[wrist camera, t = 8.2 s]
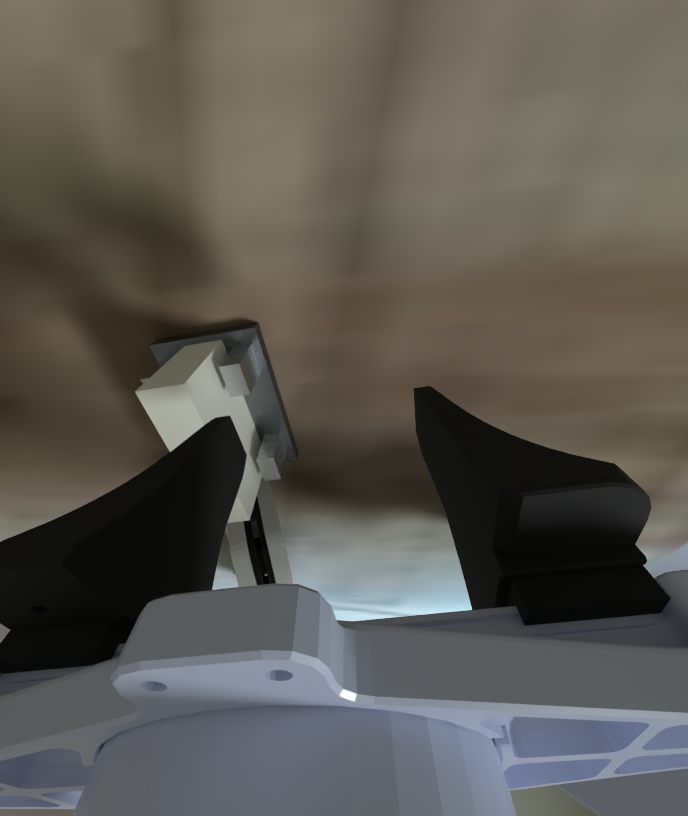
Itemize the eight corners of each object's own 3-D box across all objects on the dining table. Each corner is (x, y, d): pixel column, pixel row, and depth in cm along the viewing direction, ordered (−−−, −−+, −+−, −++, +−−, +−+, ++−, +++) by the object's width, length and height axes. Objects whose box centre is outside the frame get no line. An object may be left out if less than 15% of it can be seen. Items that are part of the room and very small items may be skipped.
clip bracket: (258, 322, 21) (242, 345, 18) (298, 452, 27) (292, 487, 23) (156, 339, 21) (122, 365, 18) (217, 463, 27) (199, 499, 24)
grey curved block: (207, 468, 28) (209, 573, 20) (262, 454, 29) (286, 547, 21) (244, 579, 37) (257, 682, 29) (286, 564, 38) (308, 659, 30)
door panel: (222, 339, 21) (184, 383, 15) (267, 458, 26) (249, 520, 21) (177, 347, 21) (124, 393, 16) (231, 463, 26) (204, 525, 21)
